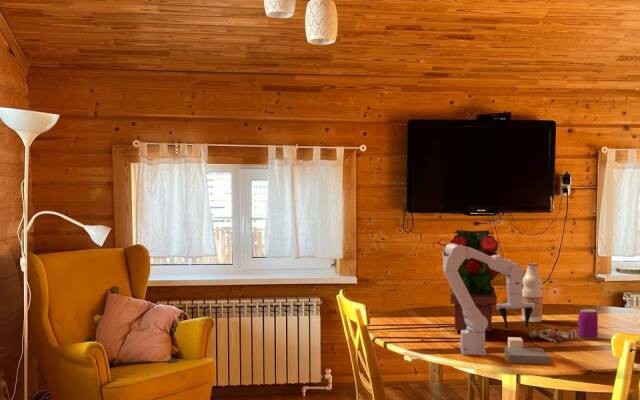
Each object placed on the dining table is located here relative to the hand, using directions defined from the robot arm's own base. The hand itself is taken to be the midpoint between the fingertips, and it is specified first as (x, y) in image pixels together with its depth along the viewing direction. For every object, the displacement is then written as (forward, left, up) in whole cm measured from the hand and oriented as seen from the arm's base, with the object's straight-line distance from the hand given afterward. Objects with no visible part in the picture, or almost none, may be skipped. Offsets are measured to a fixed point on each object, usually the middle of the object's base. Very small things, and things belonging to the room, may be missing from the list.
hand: (516, 326), depth 253 cm
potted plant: (-13, +34, -10) cm, 38 cm away
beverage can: (+35, +27, -10) cm, 45 cm away
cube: (0, 0, -10) cm, 10 cm away
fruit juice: (+18, +60, -10) cm, 63 cm away
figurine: (+18, +19, -10) cm, 28 cm away
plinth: (+2, -12, -10) cm, 15 cm away
